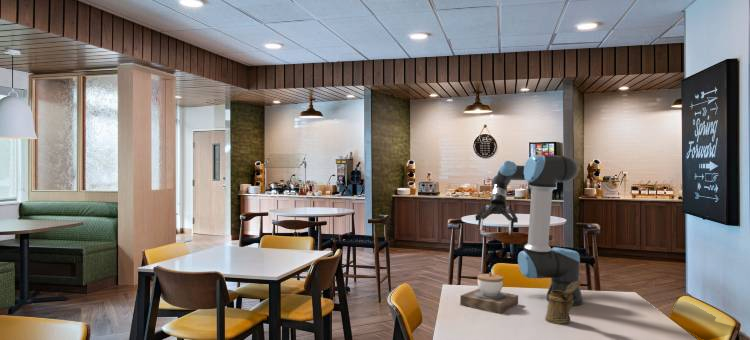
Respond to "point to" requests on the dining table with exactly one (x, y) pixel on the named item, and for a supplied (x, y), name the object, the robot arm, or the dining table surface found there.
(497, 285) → the lidded jar
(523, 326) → the dining table surface
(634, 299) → the dining table surface
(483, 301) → the walnut plinth
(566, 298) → the wooden mug
